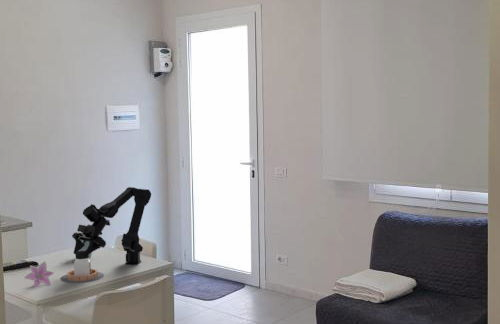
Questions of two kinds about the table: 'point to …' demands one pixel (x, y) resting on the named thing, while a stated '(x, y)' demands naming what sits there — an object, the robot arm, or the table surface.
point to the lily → (39, 275)
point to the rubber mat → (64, 279)
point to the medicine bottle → (82, 264)
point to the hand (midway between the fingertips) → (79, 254)
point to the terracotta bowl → (72, 276)
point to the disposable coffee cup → (85, 244)
